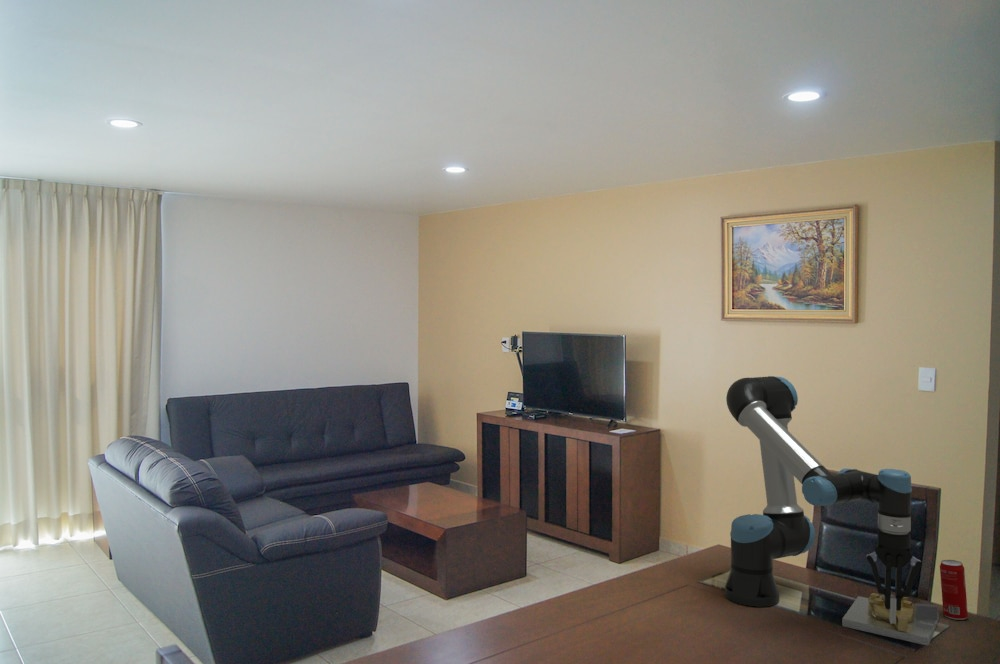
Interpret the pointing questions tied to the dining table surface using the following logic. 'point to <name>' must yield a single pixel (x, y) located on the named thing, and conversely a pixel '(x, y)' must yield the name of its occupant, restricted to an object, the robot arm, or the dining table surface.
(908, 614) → the gold knob with handle
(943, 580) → the beverage can
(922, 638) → the flange plate
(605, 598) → the dining table surface
